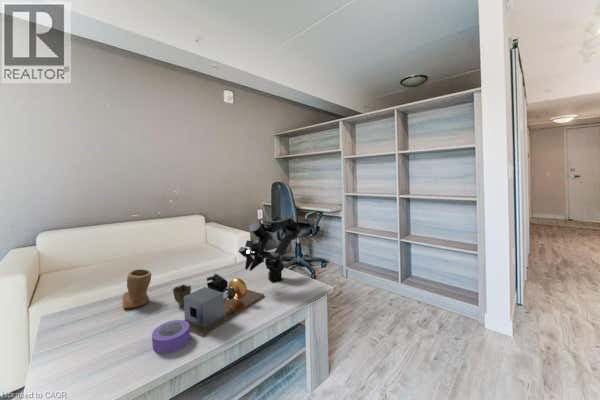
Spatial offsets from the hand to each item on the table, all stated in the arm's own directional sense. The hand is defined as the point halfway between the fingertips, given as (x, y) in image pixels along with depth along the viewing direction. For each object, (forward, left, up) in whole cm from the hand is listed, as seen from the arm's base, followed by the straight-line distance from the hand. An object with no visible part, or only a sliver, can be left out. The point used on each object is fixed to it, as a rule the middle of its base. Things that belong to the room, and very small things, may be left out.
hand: (247, 269), depth 123 cm
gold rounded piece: (+13, +7, -11) cm, 18 cm away
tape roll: (+35, +20, -13) cm, 42 cm away
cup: (+29, -7, -13) cm, 32 cm away
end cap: (+12, -15, -13) cm, 23 cm away
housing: (+13, +7, -13) cm, 20 cm away
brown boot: (+47, -21, -13) cm, 53 cm away
